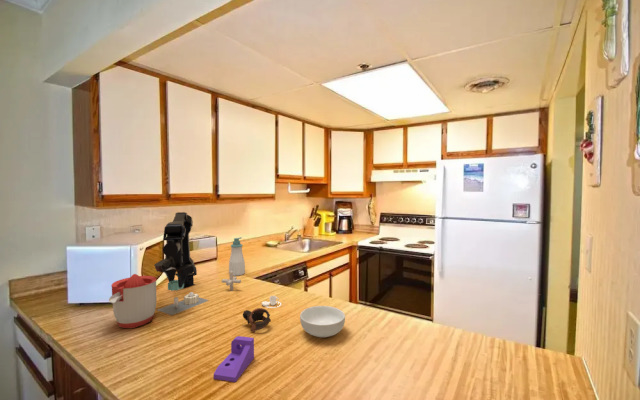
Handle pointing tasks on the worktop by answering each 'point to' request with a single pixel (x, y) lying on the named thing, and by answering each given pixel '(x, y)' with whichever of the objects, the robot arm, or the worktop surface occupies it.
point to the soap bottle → (236, 258)
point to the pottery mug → (257, 318)
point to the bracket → (236, 359)
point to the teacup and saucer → (271, 302)
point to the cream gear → (191, 299)
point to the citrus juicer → (134, 300)
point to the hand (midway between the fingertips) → (175, 286)
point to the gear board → (180, 305)
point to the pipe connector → (231, 281)
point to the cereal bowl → (322, 320)
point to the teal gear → (174, 285)
